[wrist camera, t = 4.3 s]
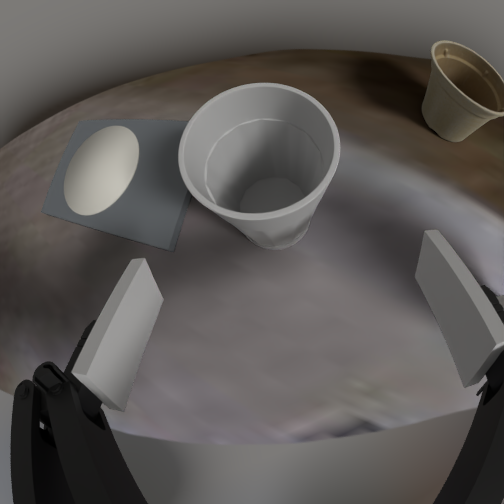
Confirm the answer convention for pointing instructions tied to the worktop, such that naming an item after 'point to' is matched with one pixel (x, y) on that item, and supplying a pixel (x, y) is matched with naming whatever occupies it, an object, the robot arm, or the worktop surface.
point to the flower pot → (461, 92)
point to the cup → (261, 160)
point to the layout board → (123, 180)
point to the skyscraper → (501, 300)
